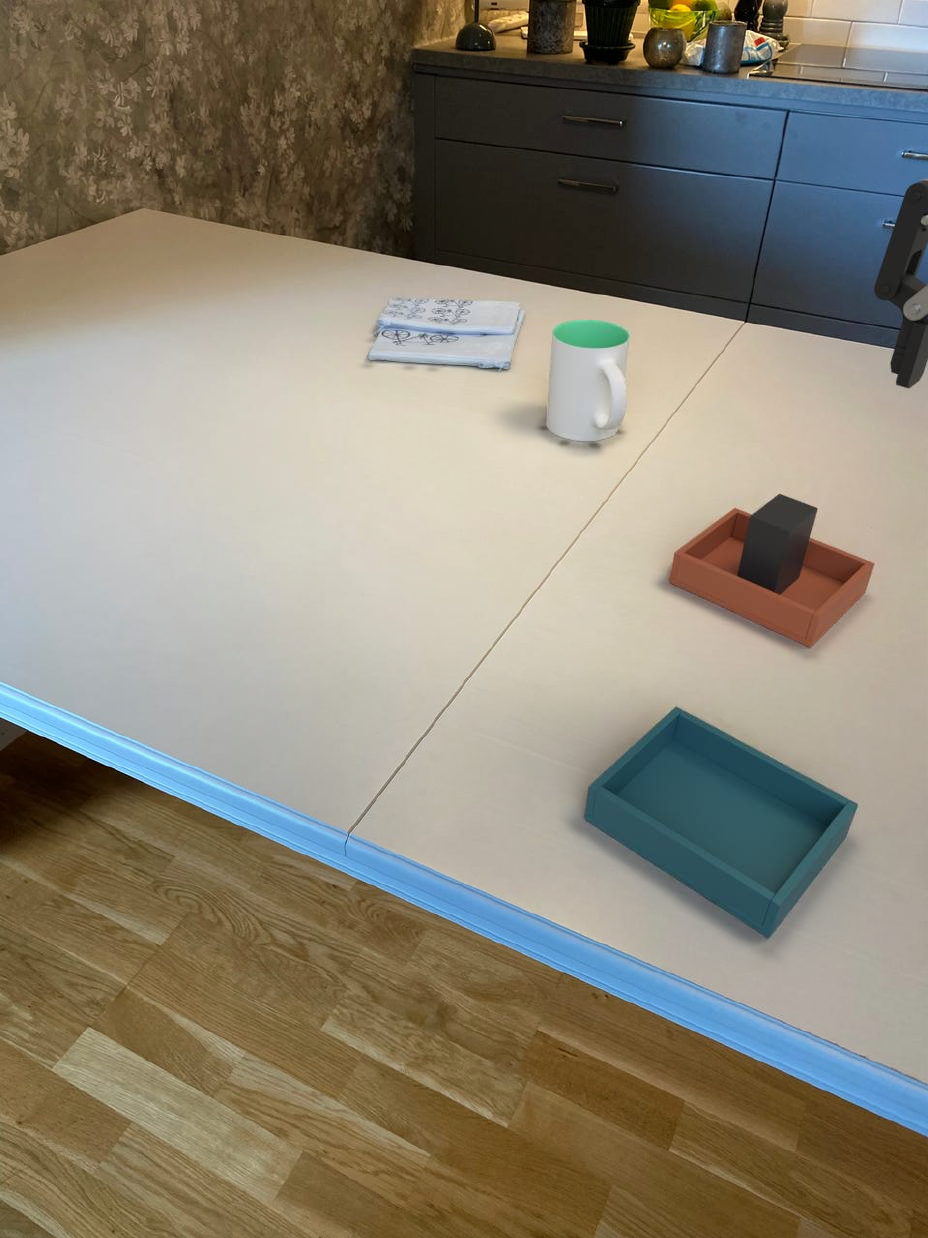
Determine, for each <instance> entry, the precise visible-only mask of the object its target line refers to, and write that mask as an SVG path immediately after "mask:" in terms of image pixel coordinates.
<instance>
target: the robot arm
mask: <svg viewBox="0 0 928 1238" xmlns="http://www.w3.org/2000/svg"><path fill="white" fill-rule="evenodd" d="M888 241H889V242H888V244H887V247H886V250H885V253H884V256H883V259H882V262H881V265H880V268H879V271H878V273H877V276H876V277H877V278H876V281H875V283H874V288H873V291H874V295H875V297H877V299H879V300H881V301H889V302H890V303H892V304H893V305H895V306H896V307H897V308H898V309H899V311H900V312H901V315H902V321H901V325H900V328H899V331H898V335H897V339H896V342H895V346H894V348H893V353H892V355H891V360H890V364H889V365H890V372H891V373H892V374H895V375H897V376H896V379H895V380H896V381H895V385H896V386H898V387H901V388H905V389H911V388H913V386H915V385H916V384H917V383H919V382H920V380H921V379H922V377H923V375H924V373H925V370H926V367H927V365H928V283H926V282H924V281H923V280H921V279H919V278H918V277H917V275H918V272H919V269H920V267H921V263H922V260H923V258H924V254H925V252H926V249H927V246H928V177H926V178H924V179H921V180H919V181H917V182H915V183H912V184H911V185H910V186H908V188H906V191H905V193H904V196H903V199H902V201H901V204H900V207H899V211H898V214H897V216H896V220H895V223H894V226H893V230H892V232H891V235H890V238H889V240H888Z"/></svg>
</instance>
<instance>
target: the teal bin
mask: <svg viewBox="0 0 928 1238" xmlns="http://www.w3.org/2000/svg"><path fill="white" fill-rule="evenodd" d="M858 807H859V803H857V802H855V801H853V800H852V799H849V798H847V797H846V796H844V795H842V794H840V793H838V792H836V791H835V790H833V789H831V788H829V787H827V786H826V785H823V784H822V783H820V782H818V781H816V780H814V779H813V778H811V777H808V776H807V775H805V774H803V773H801V772H799V771H797V770H795V769H794V768H792V767H791V766H788V765H787V764H784V763H783V762H781V761H779V760H777V759H775V758H773V757H771V756H770V755H768V754H766V753H764V752H762V751H760V750H759V749H757V748H754V747H753V746H751V745H749V744H748V743H746V742H743V741H742V740H740V739H738V738H736V737H734V736H732V735H731V734H729V733H727V732H725V731H723V730H721V729H720V728H718V727H716V726H714V725H712V724H711V723H708V722H706V721H705V720H703V719H701V718H699V717H697V716H696V715H693V714H692V713H690V712H688V711H686V710H684V709H682V708H680V706H679V707H678V706H675V707H673V708H672V709H671V710H670V711H669V712H668V713H667V714H666V715H664V717H663V718H661V719H660V720H659V721H658V722H657V723H656V724H655V725H654V726H653V727H652V728H650V729H649V730H648V732H646V733H645V734H644V735H643V736H642V737H641V738H640V739H639V740H637V741H636V742H635V743H634V744H633V745H632V746H631V747H629V749H628V750H627V751H626V752H625V753H623V754H622V755H621V756H620V757H619V758H618V759H617V760H616V761H615V762H614V763H613V764H611V765H610V766H609V767H608V768H607V769H606V770H605V771H604V772H603V773H602V774H600V776H598V777H597V778H596V779H595V780H594V781H593V782H591V784H590V785H589V786H588V788H587V796H586V802H585V809H584V810H585V811H584V818H583V819H584V820H585V821H586V822H588V823H589V824H591V825H592V826H594V827H595V828H597V829H599V830H600V831H601V832H603V833H605V834H607V835H608V836H609V837H611V838H612V839H613V840H616V841H617V842H619V843H620V844H622V845H623V846H625V847H627V848H628V849H630V850H631V851H632V852H634V853H636V854H637V855H638V856H640V857H642V858H643V859H646V861H648V862H650V863H651V864H653V865H654V866H656V867H658V868H659V869H661V870H662V871H664V872H665V873H667V874H668V875H669V876H671V877H673V878H674V879H676V880H677V881H679V882H680V883H683V884H684V886H687V887H688V888H690V889H691V890H693V891H694V892H696V893H697V894H699V895H701V896H702V897H704V898H705V899H707V900H708V901H710V902H712V903H713V904H715V905H716V906H717V907H719V908H721V909H722V910H723V911H725V912H727V913H729V914H730V915H732V916H733V917H735V918H736V919H737V920H739V921H741V922H742V923H744V924H745V925H747V926H748V927H750V928H752V929H753V930H755V931H756V932H758V933H759V934H760V935H763V936H764V937H766V938H767V939H770V938H771V937H772V936H773V934H774V933H775V932H776V931H777V929H778V928H779V927H780V925H781V924H782V922H783V921H784V920H785V918H786V917H787V916H788V915H789V914H790V912H791V911H792V909H793V908H794V907H795V906H796V904H797V903H798V902H799V900H800V899H801V897H802V896H803V895H804V893H805V892H806V891H807V890H808V888H809V887H810V885H811V884H812V883H813V882H814V880H815V879H816V877H817V876H818V875H819V874H820V872H821V871H822V870H823V869H824V867H825V866H826V865H827V863H828V862H829V861H830V859H831V858H832V856H833V855H834V854H835V853H836V851H837V850H838V849H839V847H840V846H841V845H842V843H843V842H844V841H845V839H846V838H847V837H848V834H849V831H850V828H851V826H852V824H853V820H854V818H855V815H856V813H857V810H858Z"/></svg>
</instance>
